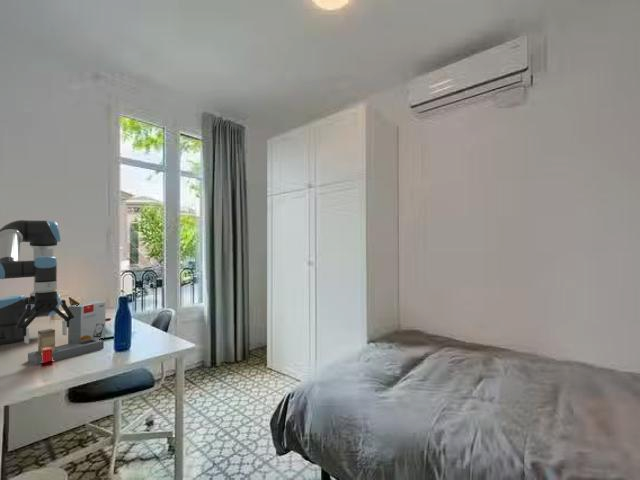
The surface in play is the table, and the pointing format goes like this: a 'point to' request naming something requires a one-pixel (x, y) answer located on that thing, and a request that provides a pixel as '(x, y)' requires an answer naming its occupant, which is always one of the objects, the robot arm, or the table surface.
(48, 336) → the plug
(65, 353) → the socket strip
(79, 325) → the hard drive box
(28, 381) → the table surface
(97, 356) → the table surface
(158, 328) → the table surface
